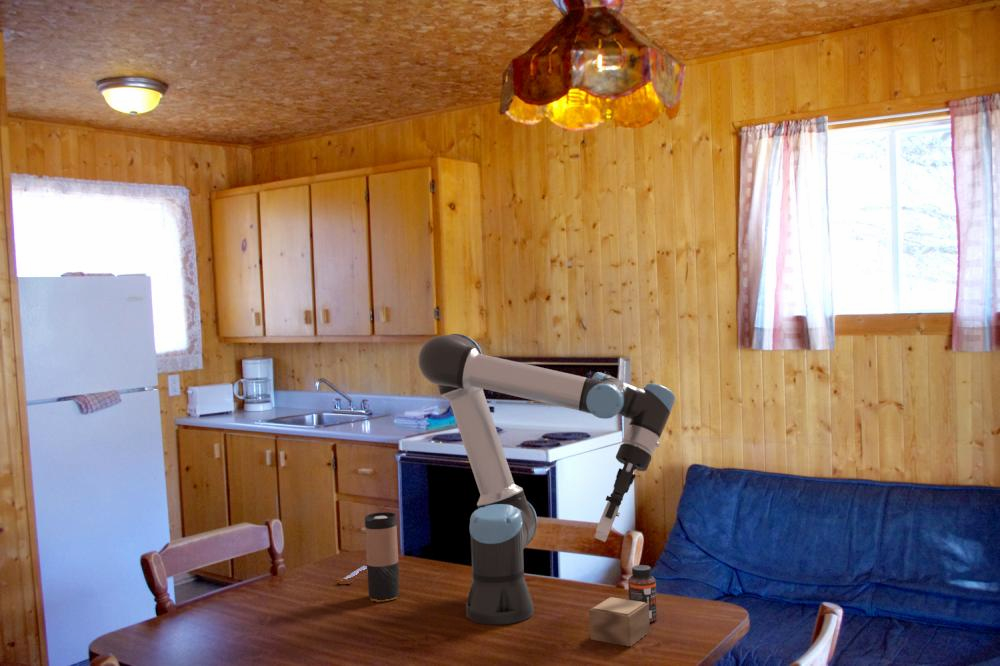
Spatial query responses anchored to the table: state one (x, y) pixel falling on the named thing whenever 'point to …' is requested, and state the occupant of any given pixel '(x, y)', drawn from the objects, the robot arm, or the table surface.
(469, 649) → the table surface
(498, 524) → the robot arm
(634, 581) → the supplement bottle
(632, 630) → the light wooden box
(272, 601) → the table surface
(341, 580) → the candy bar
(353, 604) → the table surface
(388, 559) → the travel mug
